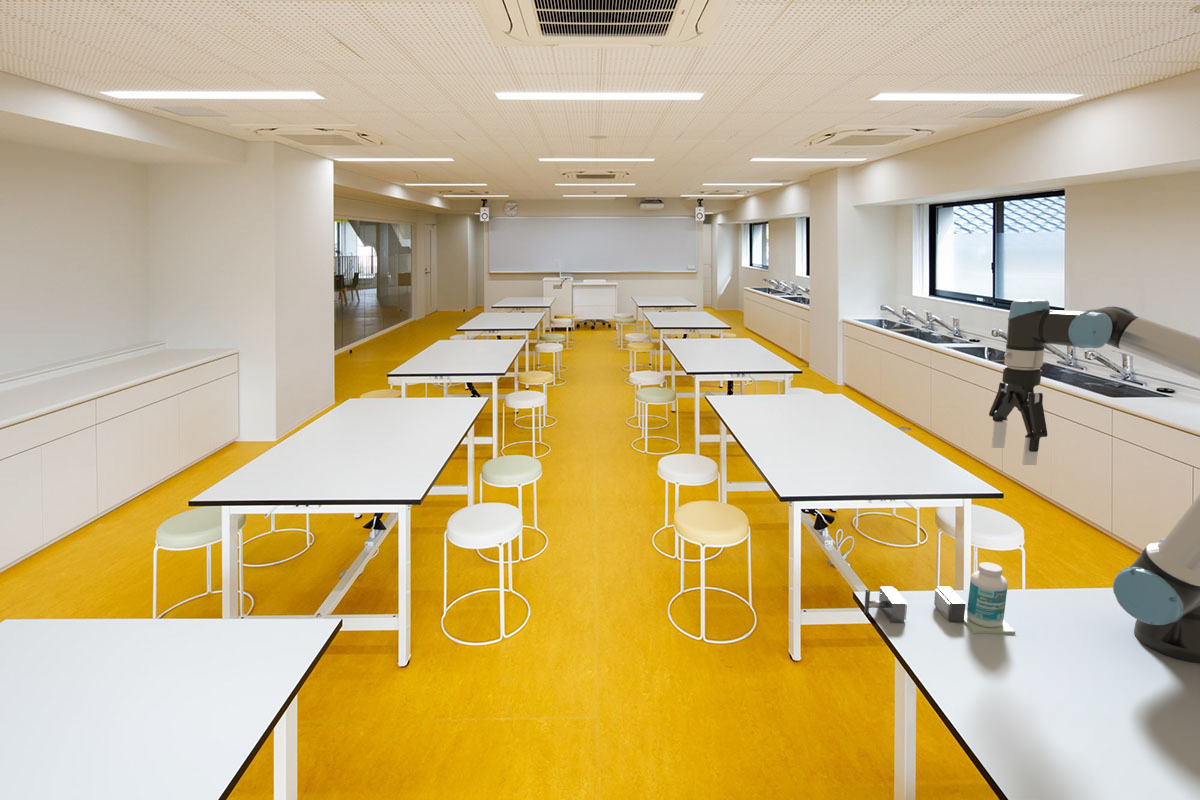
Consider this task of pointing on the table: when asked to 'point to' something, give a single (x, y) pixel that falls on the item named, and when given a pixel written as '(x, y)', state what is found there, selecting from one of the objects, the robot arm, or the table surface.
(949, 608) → the vise
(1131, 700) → the table surface
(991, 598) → the pill bottle
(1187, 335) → the robot arm
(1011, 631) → the pad
